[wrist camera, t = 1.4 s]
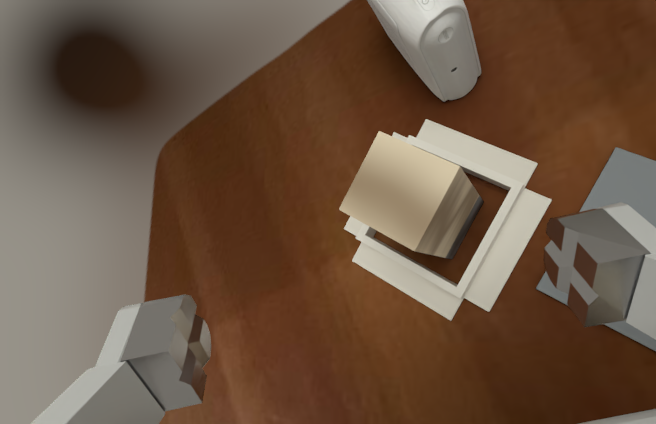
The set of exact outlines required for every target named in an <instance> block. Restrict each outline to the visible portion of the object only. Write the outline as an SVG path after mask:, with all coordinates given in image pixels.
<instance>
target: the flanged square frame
mask: <svg viewBox="0 0 656 424" xmlns="http://www.w3.org/2000/svg"><path fill="white" fill-rule="evenodd" d="M392 137H394V138H397V139H399V140H401V141H403V142H406V143H408V144H410V145H413V146H415V147H417V148H420V149H422V150H424V151H427V152H429V153H431V154H433V155H436V156H438V157H440V158H443V159H445V160H447V161H450V162H452V163H454V164H456V165H459V166H460V167H461V168H462V170H463V171H464V172H467V173H469V174H471V175H474V176H476V177H478V178H480V179H483V180H485V181H487V182H490V183H492V184H494V185H496V186H499V187H501V188H503V189H506V190H508V191H509V193H508V194H507V196H506V198H505V200H504V202H503V204H502V205H501V207H500V209H499V211H498V213H497V215H496V216H495V218H494V220H493V222H492V224H491V225H490V227H489V229H488V231H487V233H486V235H485V236H484V238H483V240H482V242H481V244H480V245H479V247H478V249H477V251H476V253H475V255H474V256H473V258H472V260H471V262H470V264H469V266H468V267H467V269H466V271H465V273H464V275H463V276H462V278H461V280H460V282H459V284H458V285H457V284H456V283H454V282H452V281H450V280H448V279H447V278H445V277H443V276H441V275H440V274H438V273H436V272H434V271H432V270H431V269H429V268H427V267H425V266H424V265H422V264H420V263H418V262H417V261H415V260H413V259H411V258H409V257H408V256H406V255H404V254H402V253H401V252H399V251H397V250H395V249H393V248H392V247H390V246H388V245H386V244H385V243H383V242H381V241H379V240H377V239H376V238H374V235H375V233H376V231H377V230H375V229H373V228H371V227H370V226H368V225H366V224H364V223H362V222H361V221H359V220H357V219H355V218H353V217H352V216H350V218H349V220H348V222H347V224H346V226H345V227H344V229H345V230H347V231H348V232H350V233H352V234H354V235H355V236H356V239H358V240H359V241H361V244H360V246H359V248H358V250H357V252H356V254H355V256H354V258H353V260H352V261H353V262H355V263H356V264H358V265H360V266H361V267H363V268H365V269H366V270H368V271H370V272H371V273H373V274H375V275H376V276H378V277H380V278H381V279H383V280H384V281H386V282H388V283H389V284H391V285H393V286H394V287H396V288H398V289H399V290H401V291H403V292H404V293H406V294H407V295H409V296H411V297H412V298H414V299H416V300H417V301H419V302H421V303H422V304H424V305H426V306H427V307H429V308H431V309H432V310H434V311H435V312H437V313H439V314H440V315H442V316H444V317H445V318H447V319H449V320H450V321H452V319H453V317H454V315H455V313H456V312H457V310H458V308H459V306H460V304H461V303H462V301H463V299H464V298H465V299H467V300H469V301H470V302H472V303H474V304H476V305H477V306H479V307H481V308H483V309H484V310H486V311H488V312H490V310H491V308H492V306H493V305H494V303H495V301H496V299H497V297H498V296H499V294H500V292H501V290H502V288H503V287H504V285H505V283H506V281H507V280H508V278H509V276H510V274H511V272H512V271H513V269H514V267H515V265H516V263H517V262H518V260H519V258H520V256H521V254H522V253H523V251H524V249H525V247H526V246H527V244H528V242H529V240H530V238H531V237H532V235H533V233H534V231H535V229H536V228H537V226H538V224H539V222H540V220H541V219H542V217H543V215H544V213H545V212H546V210H547V208H548V206H549V204H550V203H551V201H552V200H551V199H549V198H547V197H544V196H542V195H539V194H537V193H535V192H532V191H530V190H528V189H525V187H526V185H527V183H528V181H529V179H530V178H531V176H532V174H533V172H534V170H535V169H536V167H537V165H538V163H535V162H533V161H530V160H528V159H525V158H523V157H520V156H518V155H515V154H513V153H510V152H508V151H505V150H503V149H500V148H498V147H495V146H493V145H490V144H488V143H485V142H483V141H480V140H478V139H475V138H473V137H470V136H468V135H465V134H463V133H460V132H458V131H455V130H452V129H450V128H447V127H445V126H442V125H440V124H437V123H435V122H432V121H430V120H427V119H426V120H425V122H424V124H423V126H422V128H421V130H420V132H419V134H418V135H417V137H416V138H415V137H413V136H410V135H409V137H408V138H406V137H404V136H402V135H399V134H397V133H395V132H394V133H393V135H392Z"/></svg>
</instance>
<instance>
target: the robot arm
mask: <svg viewBox="0 0 656 424" xmlns="http://www.w3.org/2000/svg"><path fill="white" fill-rule="evenodd" d="M546 233H547V235H548V236H549V237H550V238H551V241H550V242H549V244H548V245H547V246H546V247H545V248H544V264H545V268H546V272H547V274H548V276H549V279H550V281H551V282H552V283H553V285H554V286H555V288H556V289H558V290H560V291H562V292H564V293H566V294H568V301H567V304H568V306H569V307H570V308H571V310H572V311H573V312H574V314H575V315H576V317H577V318H578V319H579V321H580V322H581V323H582V325H583V326H584V327H589V326H595V325H601V324H606V323H612V322H618V321H624V320H626V323H628V324H630V325H631V326H633V327H635V328H637V329H638V330H640V331H642V332H643V333H645V334H647V335H649V336H650V337H652V338H654V339H655V340H656V228H655V227H654V226H653V225H652V224H651V223H649V222H648V221H647V220H646V219H645V218H643V217H642V216H641V215H640V214H639V213H637V212H636V211H635V210H634V209H633V208H631V207H630V206H629V205H627V204H625V203H622V202H620V203H616V204H611V205H607V206H603V207H598V208H596V209H591V210H586V211H582V212H577V213H572V214H568V215H563V216H559V217H554V218H550V220H549V222H548V223H547V230H546ZM196 306H197V305H196V304H195V302H194V300H193V299H192V297H191V296H190V295H181V296H176V297H170V298H165V299H159V300H154V301H148V302H144V303H140V304H135V305H129V306H124V307H123V308H121V309H120V310H119V311H118V313H117V315H116V318H115V320H114V323H113V325H112V327H111V330H110V332H109V334H108V337H107V339H106V342H105V344H104V346H103V349H102V351H101V354H100V356H99V359H98V361H97V363H96V365H95V367H94V368H91V369H87V370H86V371H85V372H84V373H83V374H82V375H81V376H80V377H79V378H78V379H77V380H76V381H75V382H74V383H73V384H72V385H71V386H70V387H68V388H67V389H66V390H65V391H64V392H63V393H62V394H61V395H60V396H59V397H58V398H57V399H56V400H55V401H54V402H53V403H52V404H51V405H50V406H49V407H48V408H46V409H45V410H44V412H42V413H41V414H40V415H39V416H38V417H37V418H36V419H35V420H34V421H33V422H32V423H31V424H159V422H160V421H161V419H162V418H163V416H164V415H165V412H164V411H169V410H173V409H178V408H182V407H186V406H191V405H195V404H200V403H202V401H203V396H204V390H205V384H206V378H207V375H206V374H205V372H204V370H203V369H202V368H203V366H204V365H205V364H206V363H207V361H208V360H209V359H210V353H211V338H210V333H209V329H208V326H207V324H206V322H205V320H204V319H203V318H201V317H199V316H198V315H196V314H195V311H196ZM578 424H656V409H652V410H647V411H642V412H636V413H631V414H626V415H621V416H615V417H610V418H605V419H599V420H594V421H589V422H584V423H578Z"/></svg>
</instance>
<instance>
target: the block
mask: <svg viewBox="0 0 656 424" xmlns="http://www.w3.org/2000/svg"><path fill="white" fill-rule="evenodd" d="M483 202H484V201H483V200H482V198H481V197H480V195H479V194H478V192H477V191H476V189H475V188H474V186H473V185H472V183H471V182H470V180H469V179H468V177H467V176H466V174H465V173H464V171H463V170H462V168H461V167H460V166H459V165H456V164H454V163H452V162H450V161H447V160H445V159H443V158H440V157H438V156H436V155H433V154H431V153H429V152H427V151H424V150H422V149H420V148H417V147H415V146H413V145H410V144H408V143H406V142H403V141H401V140H399V139H397V138H394V137H392V136H390V135H387V134H385V133H383V132H380V131H379V132H378V134H377V136H376V138H375V140H374V142H373V144H372V146H371V148H370V150H369V152H368V154H367V156H366V158H365V159H364V161H363V163H362V165H361V167H360V169H359V171H358V173H357V175H356V177H355V179H354V181H353V183H352V185H351V187H350V189H349V191H348V192H347V194H346V196H345V198H344V200H343V202H342V204H341V206H340V208H339V210H341V211H342V212H344V213H346V214H348V215H350V216H352V217H353V218H355V219H357V220H359V221H361V222H362V223H364V224H366V225H368V226H370V227H371V228H373V229H375V230H377V231H379V232H380V233H382V234H384V235H386V236H388V237H389V238H391V239H393V240H395V241H397V242H398V243H400V244H402V245H404V246H406V247H408V248H409V249H411V250H413V251H415V252H420V253H424V254H429V255H434V256H439V257H443V258H448V259H453V257H454V256H455V254H456V252H457V250H458V248H459V246H460V245H461V243H462V241H463V239H464V237H465V235H466V234H467V232H468V230H469V228H470V226H471V224H472V223H473V221H474V219H475V217H476V215H477V213H478V212H479V210H480V208H481V206H482V204H483Z"/></svg>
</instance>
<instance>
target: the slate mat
mask: <svg viewBox="0 0 656 424" xmlns="http://www.w3.org/2000/svg"><path fill="white" fill-rule="evenodd" d="M620 202H622V203H625V204H627V205H629V206H630V207H631V208H633V209H634V210H635V211H636V212H637V213H639V214H640V215H641V216H642V217H643V218H645V219H646V220H647V221H648V222H649V223H651V224H652V225H653V226H654V227H655V228H656V161H654V160H651V159H648V158H645V157H642V156H640V155H637V154H634V153H631V152H628V151H626V150H623V149H620V148H617V147H616V148H615V150H614V151H613V153H612V155H611V157H610V159H609V160H608V162H607V164H606V166H605V167H604V169H603V171H602V173H601V174H600V176H599V178H598V180H597V181H596V183H595V185H594V187H593V189H592V190H591V192H590V194H589V196H588V197H587V199H586V201H585V203H584V204H583V206H582V208H581V210H580V211H579V212H582V211H586V210H591V209H596V208H598V207H603V206H607V205H611V204H616V203H620ZM536 289H538V290H539V291H541V292H543V293H545V294H547V295H549V296H551V297H553V298H555V299H557V300H559V301H560V302H562V303H564V304H566V305H568V304H567V301H568V294H566V293H564V292H562V291H560V290H558V289H556V288H555V286H554V285H553V283H552V282H551V281H550V279H549V276H548V274H547V272H545V273H544V275H543V277H542V279H541V280H540V282H539V284H538V286H537V287H536ZM604 325H606V326H608V327H610V328H612V329H614V330H616V331H618V332H620V333H622V334H623V335H625V336H627V337H629V338H631V339H633V340H635V341H637V342H639V343H641V344H643V345H644V346H646V347H648V348H650V349H652V350H654V351H656V340H655V339H654V338H652V337H650V336H649V335H647V334H645V333H643V332H642V331H640V330H638V329H637V328H635V327H633V326H631V325H630V324H628V323H626V320H624V321H618V322H612V323H606V324H604Z"/></svg>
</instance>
